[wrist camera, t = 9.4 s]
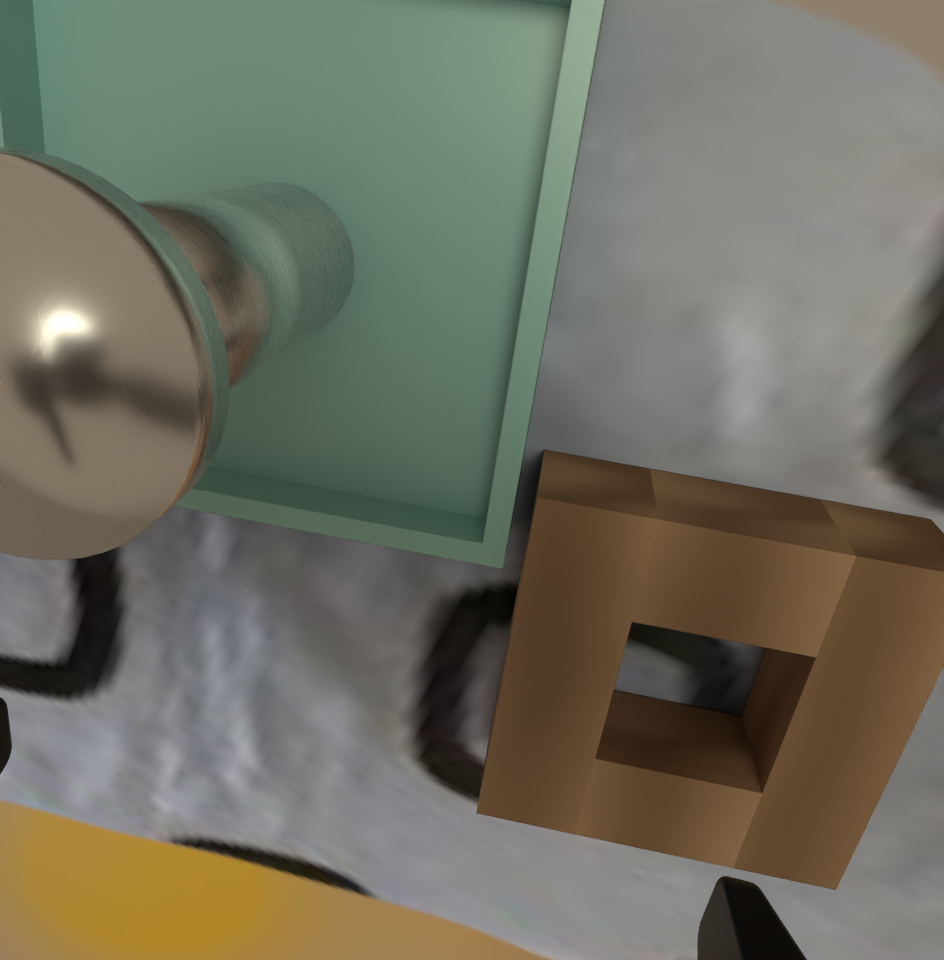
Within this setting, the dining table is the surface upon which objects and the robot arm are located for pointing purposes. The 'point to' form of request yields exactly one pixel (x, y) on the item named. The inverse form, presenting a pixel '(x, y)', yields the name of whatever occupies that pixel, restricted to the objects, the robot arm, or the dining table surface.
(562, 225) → the tray
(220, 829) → the dining table surface
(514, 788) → the block
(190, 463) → the steel pin
